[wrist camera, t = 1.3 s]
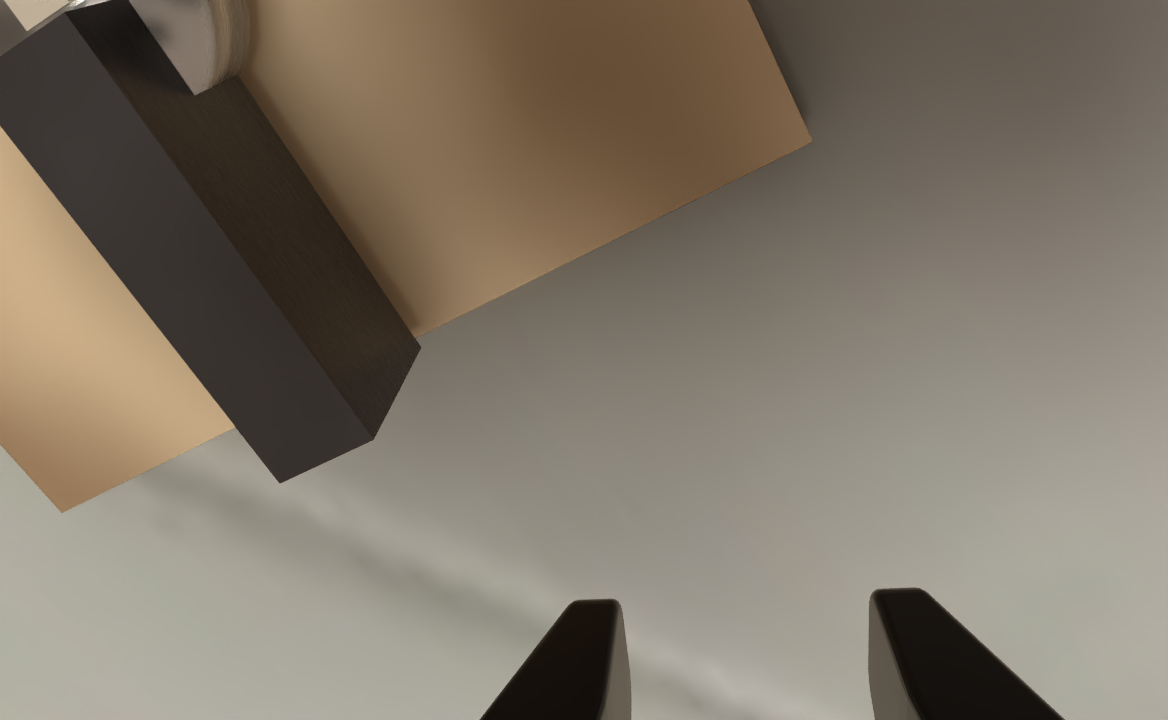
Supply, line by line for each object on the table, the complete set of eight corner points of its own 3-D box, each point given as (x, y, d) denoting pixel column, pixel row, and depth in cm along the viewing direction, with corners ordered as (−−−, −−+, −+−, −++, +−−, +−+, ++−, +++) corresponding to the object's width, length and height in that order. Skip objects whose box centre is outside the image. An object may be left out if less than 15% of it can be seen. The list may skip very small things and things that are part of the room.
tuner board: (347, -873, 12) (310, -954, 11) (805, 126, 17) (815, 147, 16) (-454, -132, 17) (-542, -131, 16) (86, 486, 22) (51, 524, 21)
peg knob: (-267, -371, 14) (-525, -433, 11) (-91, -539, 13) (-322, -657, 10) (305, 400, 19) (235, 504, 16) (465, 322, 18) (423, 417, 15)
